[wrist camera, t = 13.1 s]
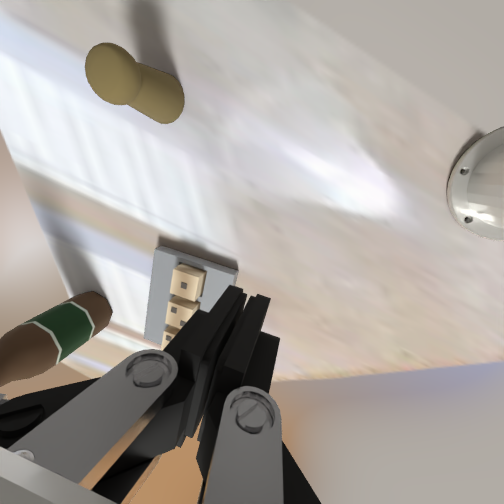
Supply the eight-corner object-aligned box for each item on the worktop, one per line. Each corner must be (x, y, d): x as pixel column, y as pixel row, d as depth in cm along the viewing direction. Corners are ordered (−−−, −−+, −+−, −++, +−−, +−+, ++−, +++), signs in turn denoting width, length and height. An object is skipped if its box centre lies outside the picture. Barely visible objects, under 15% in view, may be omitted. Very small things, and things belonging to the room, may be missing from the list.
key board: (238, 270, 40) (234, 275, 38) (217, 356, 45) (212, 364, 44) (161, 245, 41) (154, 249, 40) (150, 331, 47) (143, 338, 45)
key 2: (202, 299, 42) (192, 310, 39) (198, 319, 43) (188, 332, 40) (179, 291, 42) (168, 301, 39) (176, 311, 44) (164, 323, 40)
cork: (181, 69, 33) (121, 24, 23) (187, 121, 35) (134, 101, 25) (139, 76, 35) (66, 36, 24) (147, 126, 36) (82, 108, 26)
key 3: (196, 326, 44) (186, 340, 40) (192, 345, 45) (182, 359, 42) (175, 318, 44) (163, 331, 41) (172, 337, 46) (160, 351, 42)
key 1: (208, 268, 40) (198, 278, 37) (204, 291, 41) (194, 301, 38) (185, 260, 41) (173, 269, 37) (181, 283, 42) (169, 293, 39)
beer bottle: (98, 333, 50) (-74, 463, 28) (70, 303, 50) (-129, 411, 27) (121, 314, 48) (-50, 441, 25) (92, 281, 47) (-110, 382, 25)
